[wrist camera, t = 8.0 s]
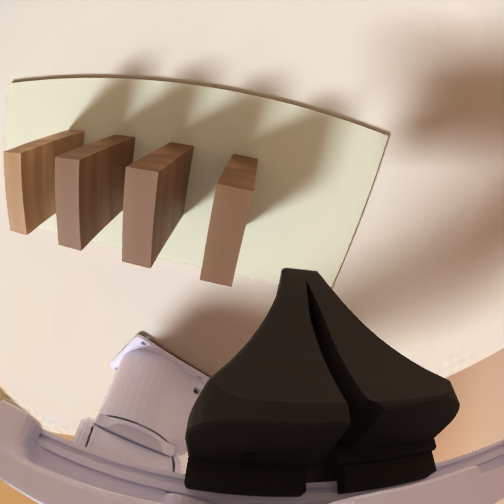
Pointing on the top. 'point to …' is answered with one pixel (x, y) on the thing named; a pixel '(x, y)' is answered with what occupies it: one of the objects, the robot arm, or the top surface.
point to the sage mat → (222, 163)
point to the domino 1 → (35, 178)
